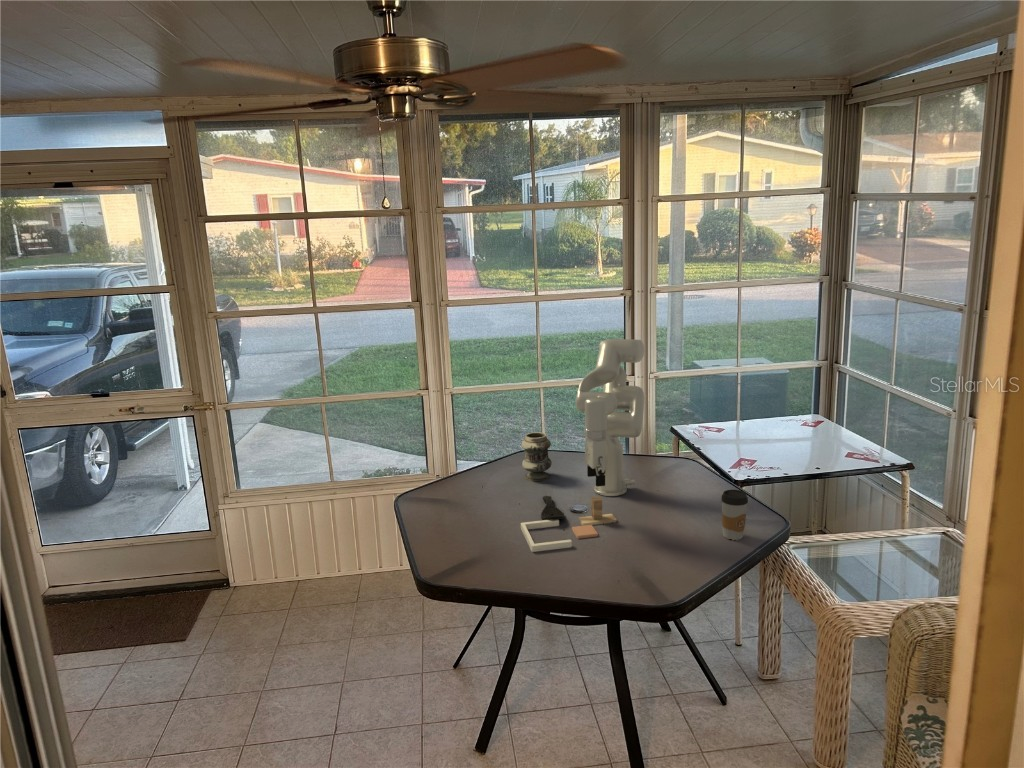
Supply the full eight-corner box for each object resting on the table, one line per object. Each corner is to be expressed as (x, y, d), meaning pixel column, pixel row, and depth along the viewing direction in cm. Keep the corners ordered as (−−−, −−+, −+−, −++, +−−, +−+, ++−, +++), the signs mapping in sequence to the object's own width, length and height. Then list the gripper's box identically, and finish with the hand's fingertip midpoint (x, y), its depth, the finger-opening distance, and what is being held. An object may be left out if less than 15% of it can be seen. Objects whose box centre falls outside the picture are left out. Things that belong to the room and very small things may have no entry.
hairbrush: (556, 490, 268) (566, 513, 243) (556, 499, 269) (567, 523, 244) (534, 491, 267) (543, 515, 243) (535, 501, 268) (543, 525, 243)
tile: (591, 528, 242) (591, 524, 242) (597, 537, 236) (597, 533, 235) (572, 531, 241) (571, 526, 241) (577, 540, 234) (577, 535, 234)
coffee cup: (732, 544, 226) (734, 500, 223) (714, 534, 234) (715, 492, 230) (751, 538, 230) (754, 495, 226) (733, 528, 237) (734, 487, 234)
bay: (557, 524, 246) (557, 518, 245) (571, 547, 228) (571, 541, 228) (520, 528, 243) (520, 522, 243) (531, 552, 226) (531, 546, 226)
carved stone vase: (537, 469, 298) (536, 428, 294) (558, 476, 290) (557, 434, 285) (516, 476, 290) (515, 435, 286) (537, 484, 282) (535, 441, 278)
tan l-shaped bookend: (579, 520, 248) (578, 498, 246) (611, 516, 250) (611, 495, 248) (583, 526, 244) (582, 504, 242) (616, 522, 246) (616, 500, 244)
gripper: (578, 427, 248) (578, 473, 252) (592, 441, 231) (593, 490, 235) (598, 425, 249) (599, 471, 253) (614, 439, 233) (614, 488, 236)
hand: (596, 480), depth 244 cm, fingers open, 9 cm apart
